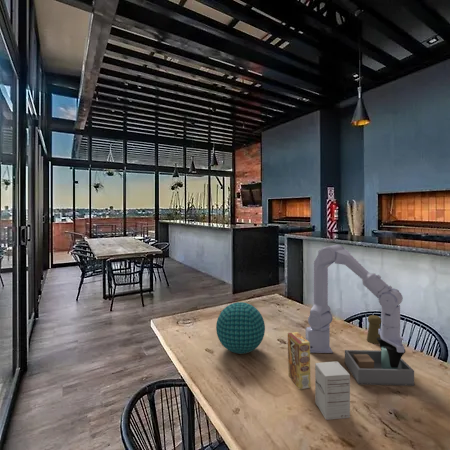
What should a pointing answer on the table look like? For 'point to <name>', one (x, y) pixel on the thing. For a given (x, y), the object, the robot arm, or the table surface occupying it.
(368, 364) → the walnut cube
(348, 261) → the robot arm
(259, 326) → the decorative ball
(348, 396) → the supplement box
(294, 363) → the candy box
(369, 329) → the cork
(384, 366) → the teal cylinder
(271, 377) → the table surface
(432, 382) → the table surface
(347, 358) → the tote
